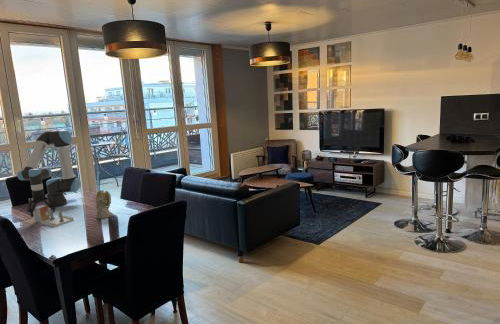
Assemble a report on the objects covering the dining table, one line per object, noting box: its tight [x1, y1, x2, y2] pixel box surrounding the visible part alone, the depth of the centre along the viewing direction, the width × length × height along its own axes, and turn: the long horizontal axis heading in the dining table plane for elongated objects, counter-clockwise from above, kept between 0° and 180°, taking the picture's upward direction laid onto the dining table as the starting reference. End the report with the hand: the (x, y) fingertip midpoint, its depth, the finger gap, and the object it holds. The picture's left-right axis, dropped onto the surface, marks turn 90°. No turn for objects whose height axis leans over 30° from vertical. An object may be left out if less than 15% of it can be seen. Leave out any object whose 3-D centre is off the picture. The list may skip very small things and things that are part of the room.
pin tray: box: [39, 209, 74, 228], centre depth 247 cm, size 14×18×8 cm
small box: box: [33, 204, 51, 223], centre depth 254 cm, size 8×6×10 cm
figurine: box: [95, 190, 113, 220], centre depth 252 cm, size 12×12×20 cm
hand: (42, 218), depth 254 cm, fingers open, 11 cm apart
